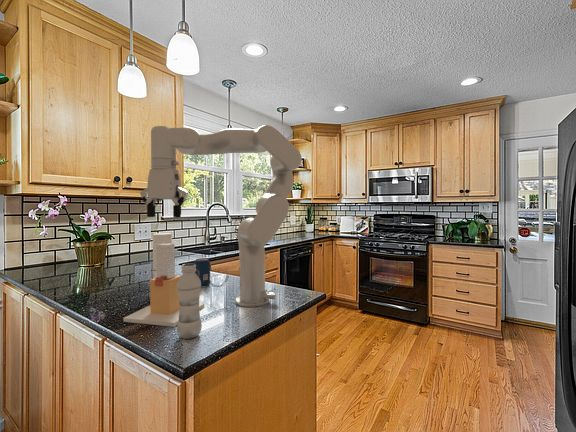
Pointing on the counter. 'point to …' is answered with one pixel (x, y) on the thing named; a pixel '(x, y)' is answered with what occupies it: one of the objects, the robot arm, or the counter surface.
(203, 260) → the soda can
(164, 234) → the cylindrical container
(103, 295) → the counter surface
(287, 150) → the robot arm
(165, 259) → the steel column
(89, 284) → the counter surface
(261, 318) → the counter surface
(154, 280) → the stand base
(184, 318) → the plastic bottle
